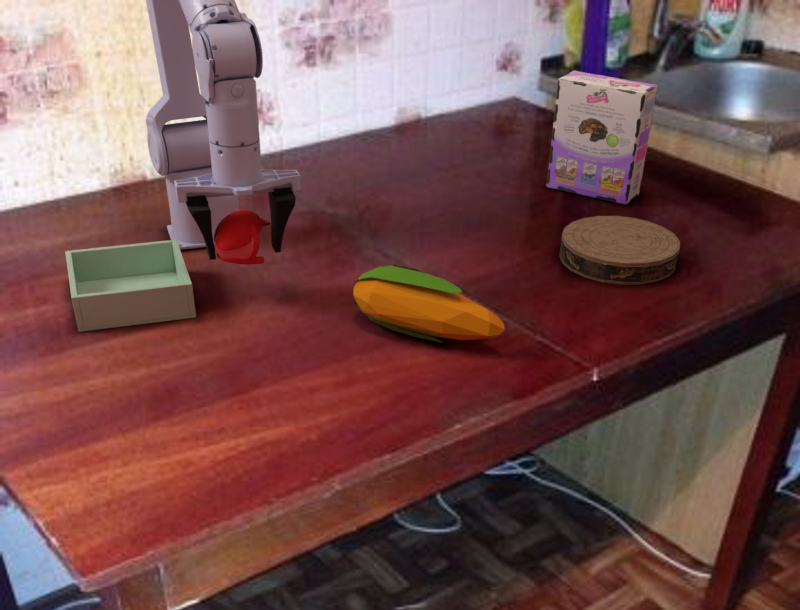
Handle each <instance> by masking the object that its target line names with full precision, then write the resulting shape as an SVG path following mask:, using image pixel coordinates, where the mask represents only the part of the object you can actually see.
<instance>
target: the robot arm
mask: <svg viewBox="0 0 800 610" xmlns="http://www.w3.org/2000/svg"><path fill="white" fill-rule="evenodd" d="M145 3H146V9H147V13H148V20H149V25H150V31H151V36H152V42H153V48H154V53H155V58H156V64H157V69H158V75H159V81H160V86H161V92H162V95H161V97H160V98H159V100H157V102H156V103H155V104H153V106H152V107H151V108H150V109H149V110H148V112H147V114H146V118H145V125H146V132H147V134H146V135H147V136H146V138H147V139H146V140H147V141H146V142H147V148H148V154H149V157H150V161H151V165H152V167H153V168H154V171H155V172H156V173H157V174H159V176H161V177H164V178H165V185H166V186H165V187H166V193H167V200H168V208H169V213H170V214H169V216H170V221H171V223H170V224H168V225H166V229H167V232H168V235H169V238H170V239H169V240H177V242H178V245H179V248H180V251H182V250H190V249H199V248H206V252H207V256H208V259H209V260H211V261H213V260H217V259H216V258H217V252H216V249H215V245H214V243H215V242H214V234H215V230H216V228H217V226H218V224H219V223H220V222H221V220H222V219H223V218H224V217H226V216H227V215H228V214H230V213H232V212H234V211H238V210H240V201H239V197H245V196H252V195H254V194H263V193H267V196H268V204H269V212H270V213H269V214H270V241H271V247H272V249H273V251H274V253H275V254H276V253H277V254H278V253H281V252H282V246H283V245H282V244H283V239H284V234H285V231H286V227H287V225H288V221H289V219H290V216H291V214H292V212H293V210H294V209H295V206H296V200H297V198H296V195H295V194H294V193H295V192H297V193H298V192H301V191H302V187H301V186H302V185H301V183H302V181H301V174H300V173H299V171H298V170H297V169H263V168H262V156H261V155H262V153H261V140H260V126H259V125H260V123H259V110H258V94H257V93H258V92H257V81H256V80H255V78H256V79H259V78H260V77H261V75H262V73H263V65H264V57H263V56H264V55H263V47H262V43H261V38H260V35H259V31H258V29H257V26H256V23H255V22H254V21H253V19H251V18H249V17H248V16H247V14H246V13H245V12H240V10H239V8H238V5H237V2H236V0H145ZM191 36H192V38H191ZM193 118H204V119H200V120H190V121H184V122H182V121H181V122H176V123H175V122H174V123H168V122H171V121H177V120H184V119H193Z"/></svg>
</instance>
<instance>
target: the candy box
mask: <svg viewBox="0 0 800 610" xmlns="http://www.w3.org/2000/svg"><path fill="white" fill-rule="evenodd" d="M556 85H557V86H556V87H557V88H556V96H555V97H556V98H555V107H554V115H553V122H552V132H551V142H550V150H549V151H550V152H549V162H548V168H547V169H548V170H547V177H546V184H545V186H546V188H550V189H554V190H558V191H563V192H567V193H572V194H577V195H580V196H585V197H589V198H595V199H598V200H602V201H607V202H612V203H616V204H620V205H621V204H622V205H625V206H626V205H628V204H629V203H630V202H632V200H634V199H635V198H637V197H639V195H640V191H641V184H642V180H643V173H644V168H645V162H646V156H647V151H648V145H649V139H650V133H651V127H652V123H653V122H652V121H653V116H654V109H655V104H656V98H657V93H658V87H659V86H658V84H654V83H648V82H643V81H642V82H641V81H635V80H630V79H624V78H618V77H613V76H608V75H607V76H606V75H602V74H596V73H589V72H585V71H578V70H572V71H569V72H568V73H566V74H564V75H563V76H561V77H559V78H558V79H557V84H556Z"/></svg>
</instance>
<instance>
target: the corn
mask: <svg viewBox="0 0 800 610" xmlns="http://www.w3.org/2000/svg"><path fill="white" fill-rule="evenodd" d="M461 292H463V289H462V288H460V287H458V286H457V285H456V284H454V283H452V282H450V281H448V280H446V279H444V278H441V277H438V276H435V275H432V274H429V273H426V272H423V271H421V270H419V269H417V268H413V267H408V266H404V265H403V266H402V265H398V264H389V265H381V266H378V267H375V268H373V269H370V270H369V271H366V272H364V273H362V274H361V275H360V276H359V277H358V279H357V280H356V281H355V282H354V284H353V292H352V297H353V301H354V305H355V306H356V307H357V308H358V309H359V311H360V312H361V313H362V314H363V315H364V316H365V317H367V318H368V319H369V320H370V321H371V322H373V323H375V324H378V325H380V326H382V327H384V328H387V329H388V330H390V331H392V332H393V331H394V332H397V333H400V334H405V335H408V336H410V337H415V338H418V339H423V340H427V341H431V342H436V343H442V344H444V342H443V341H442V340H440V339H438V338H445V339H451V340H459V341H469V340H470V341H473V340H489V339H495V338H497V337H499V336H500V335H501V334H503V333H504V331H505V323H504V322H503V321H502V320H501V318H500V317H499V316H498V315H496V314H495V313H493V312H492V311H490V310H489V309H487V308H485V307H484V306H482V305H480V304H479V303H477V302H475V301H473V300H471V299H470V298H468V297H467V296H465V295H463V294H460V293H461Z"/></svg>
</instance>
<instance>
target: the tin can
mask: <svg viewBox="0 0 800 610" xmlns="http://www.w3.org/2000/svg"><path fill="white" fill-rule="evenodd" d="M560 239H561V240H560V246H559V255H558V257H559V258H560V261H561V263H562V265H564V266H565V267H566V268H567V269H569V270H570V271H571V272H573V273H575V274H577V275H579V276H581V277H583V278H585V279H589V280H592V281H596V282H600V283H603V284H613V285H619V286H626V285H627V286H632V285H633V286H636V285H637V286H638V285H639V286H641V285H647V284H652V283H657V282H660V281H662V280H665V279H667V278H669V277H670V276H672V274H673V273H674V272H675V271H676V268H677V262H678V258H679V253H680V250H681V249H680V248H681V241H680V240H679V238H678V236H677V235H676V234H675V233H674V232H672V231H671V230H669V229H668V228H666V227H665V226H662V225H659V224H657V223H654V222H652V221H649V220H645V219H641V218H637V217H632V216H631V217H630V216H622V215H596V216H589V217H588V216H587V217H583V218H580V219H577V220H573V221H572V222H570V223H568V224H567V225H566V226H565V227H564V228H563V230H562V233H561V238H560Z"/></svg>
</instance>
